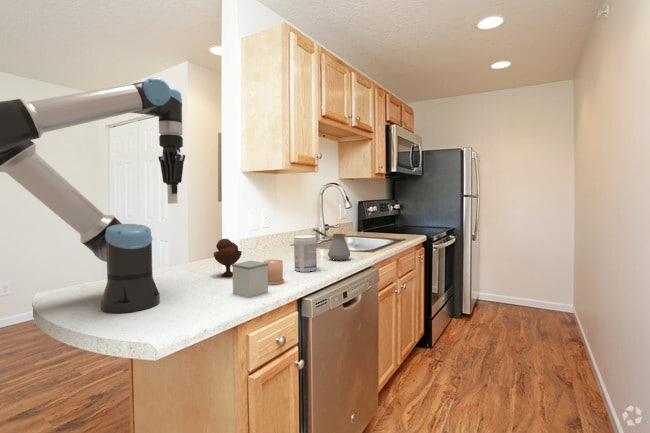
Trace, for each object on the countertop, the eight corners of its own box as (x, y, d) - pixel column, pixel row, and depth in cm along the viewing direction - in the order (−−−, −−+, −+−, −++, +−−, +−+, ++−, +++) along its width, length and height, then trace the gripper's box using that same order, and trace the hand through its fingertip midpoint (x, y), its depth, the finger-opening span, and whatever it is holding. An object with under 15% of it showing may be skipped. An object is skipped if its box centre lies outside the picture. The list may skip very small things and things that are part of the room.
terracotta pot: (273, 286, 126) (273, 264, 126) (258, 283, 131) (257, 261, 130) (288, 282, 133) (288, 260, 132) (273, 279, 137) (272, 258, 137)
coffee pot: (354, 258, 181) (354, 229, 180) (344, 262, 171) (344, 231, 170) (317, 255, 191) (317, 227, 191) (306, 258, 181) (306, 229, 180)
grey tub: (249, 298, 112) (248, 267, 111) (232, 293, 117) (231, 264, 116) (268, 292, 119) (268, 263, 118) (251, 288, 124) (251, 260, 123)
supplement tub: (318, 268, 157) (318, 235, 156) (314, 273, 148) (313, 237, 147) (297, 267, 159) (297, 234, 158) (291, 272, 150) (291, 237, 149)
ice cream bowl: (235, 279, 137) (234, 240, 136) (208, 277, 139) (207, 239, 139) (246, 273, 148) (246, 237, 147) (221, 272, 150) (221, 236, 149)
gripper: (191, 135, 123) (193, 203, 124) (170, 138, 131) (172, 203, 132) (171, 131, 117) (173, 203, 118) (150, 135, 124) (152, 203, 126)
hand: (172, 203), depth 125 cm, fingers closed
